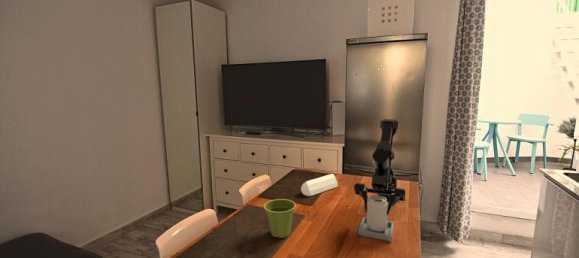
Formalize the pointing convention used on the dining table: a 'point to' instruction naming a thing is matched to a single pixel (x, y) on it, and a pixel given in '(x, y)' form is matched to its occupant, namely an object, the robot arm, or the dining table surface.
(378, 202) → the can
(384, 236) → the tray
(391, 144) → the robot arm
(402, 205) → the dining table surface
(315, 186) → the crystal
